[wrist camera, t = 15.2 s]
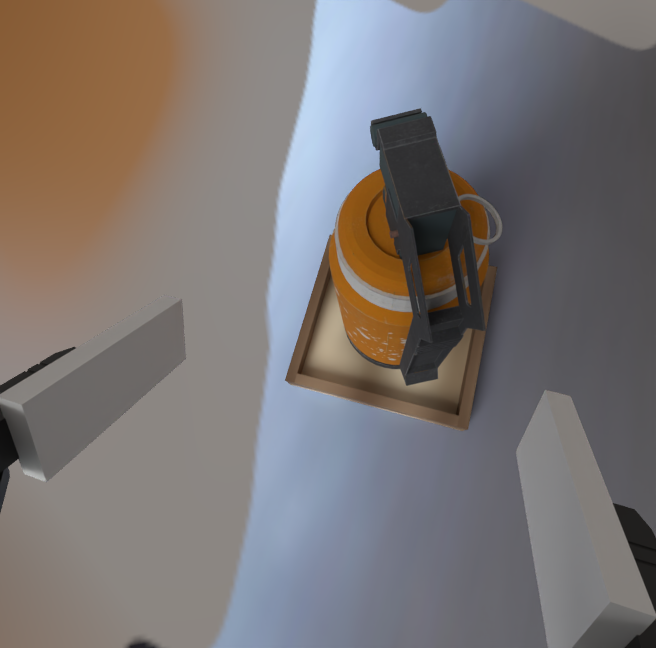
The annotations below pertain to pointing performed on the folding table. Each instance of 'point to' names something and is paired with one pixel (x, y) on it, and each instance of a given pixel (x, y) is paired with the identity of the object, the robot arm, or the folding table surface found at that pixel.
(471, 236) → the canister
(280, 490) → the folding table surface
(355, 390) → the wooden tray
